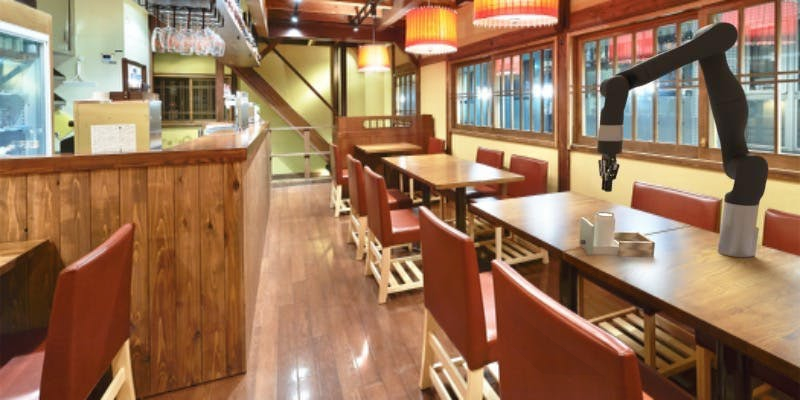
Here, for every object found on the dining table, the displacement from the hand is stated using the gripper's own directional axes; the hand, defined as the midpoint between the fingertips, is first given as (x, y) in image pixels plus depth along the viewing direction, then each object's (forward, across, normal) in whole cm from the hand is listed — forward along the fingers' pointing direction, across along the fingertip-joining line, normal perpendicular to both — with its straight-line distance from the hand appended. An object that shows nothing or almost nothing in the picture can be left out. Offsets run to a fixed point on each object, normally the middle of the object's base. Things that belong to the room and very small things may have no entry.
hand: (606, 190), depth 153 cm
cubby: (+21, 0, -8) cm, 23 cm away
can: (+20, 0, 0) cm, 20 cm away
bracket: (+21, 0, +1) cm, 21 cm away
